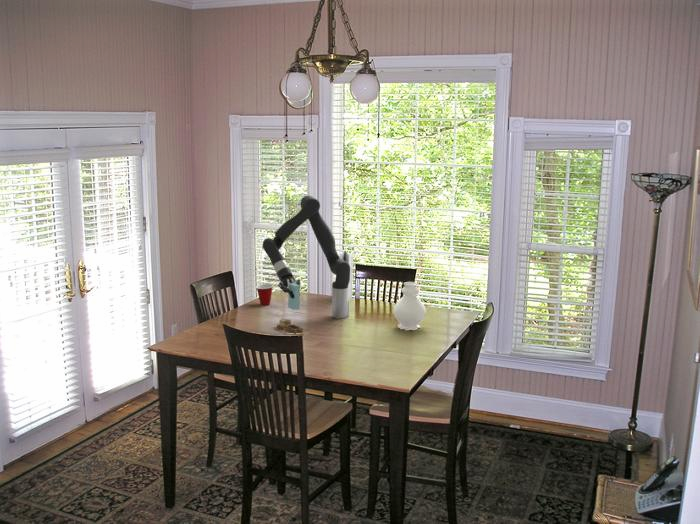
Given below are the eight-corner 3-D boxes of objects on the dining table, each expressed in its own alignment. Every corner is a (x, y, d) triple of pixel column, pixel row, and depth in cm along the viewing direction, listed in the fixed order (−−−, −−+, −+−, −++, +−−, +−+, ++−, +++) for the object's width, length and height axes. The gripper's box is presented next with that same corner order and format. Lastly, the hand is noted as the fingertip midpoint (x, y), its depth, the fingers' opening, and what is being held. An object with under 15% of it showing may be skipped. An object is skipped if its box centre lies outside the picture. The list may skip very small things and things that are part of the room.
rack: (291, 325, 396) (291, 319, 396) (314, 334, 381) (314, 328, 380) (270, 329, 388) (270, 324, 387) (293, 338, 372) (293, 333, 371)
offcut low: (286, 325, 392) (286, 322, 392) (291, 327, 389) (291, 323, 389) (279, 327, 389) (279, 323, 388) (283, 329, 386) (283, 325, 385)
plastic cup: (254, 302, 442) (254, 283, 440) (272, 302, 445) (272, 283, 442) (256, 307, 432) (256, 287, 429) (274, 306, 434) (274, 287, 432)
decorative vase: (397, 321, 408) (399, 278, 403) (428, 324, 402) (430, 281, 397) (389, 329, 392) (390, 285, 387) (420, 333, 386) (422, 288, 381)
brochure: (347, 301, 450) (348, 254, 444) (339, 300, 451) (340, 254, 445) (352, 296, 464) (353, 250, 458) (344, 295, 465) (344, 250, 459)
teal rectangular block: (292, 306, 384) (293, 282, 381) (299, 309, 379) (299, 285, 376) (288, 307, 382) (288, 283, 379) (294, 310, 378) (295, 286, 374)
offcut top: (286, 322, 391) (286, 318, 391) (290, 323, 389) (290, 319, 388) (279, 323, 388) (279, 319, 388) (284, 325, 385) (284, 321, 385)
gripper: (274, 268, 377) (288, 295, 371) (296, 265, 386) (309, 291, 380) (269, 276, 382) (282, 303, 376) (290, 273, 391) (304, 299, 385)
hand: (296, 297), depth 378 cm, fingers closed on teal rectangular block, 3 cm apart
